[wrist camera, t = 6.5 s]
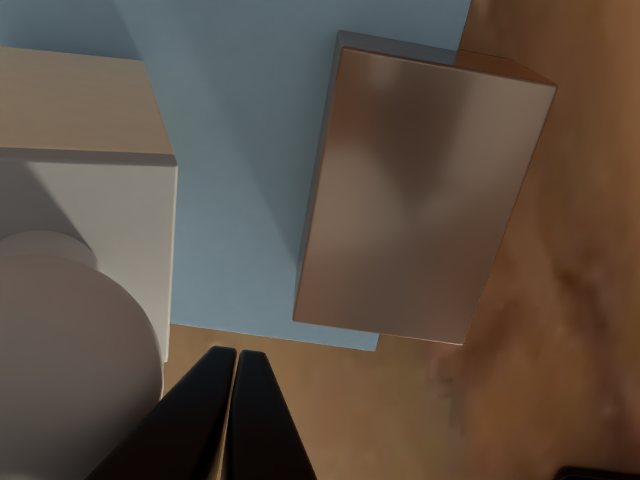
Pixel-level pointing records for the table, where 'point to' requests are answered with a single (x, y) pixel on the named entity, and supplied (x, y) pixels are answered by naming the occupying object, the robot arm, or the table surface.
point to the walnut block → (413, 185)
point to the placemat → (236, 128)
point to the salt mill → (80, 258)
